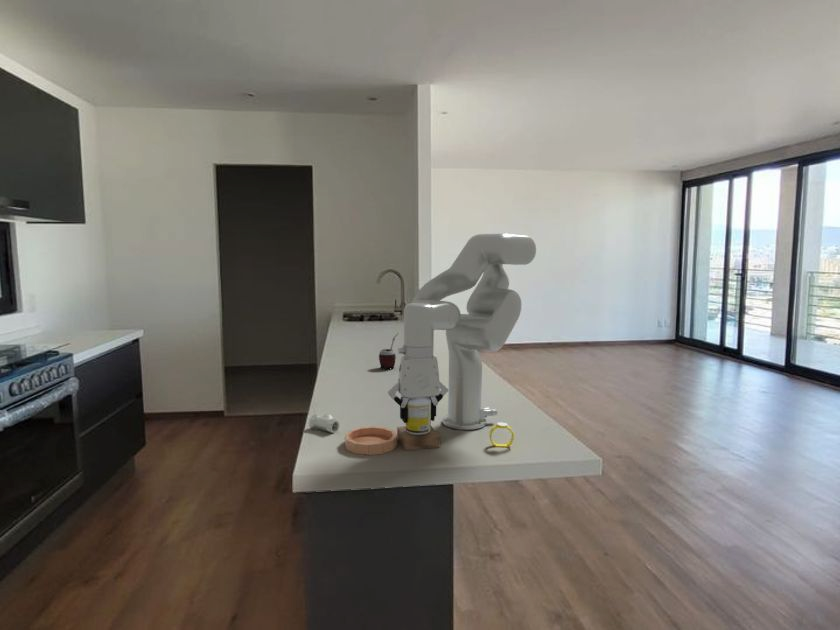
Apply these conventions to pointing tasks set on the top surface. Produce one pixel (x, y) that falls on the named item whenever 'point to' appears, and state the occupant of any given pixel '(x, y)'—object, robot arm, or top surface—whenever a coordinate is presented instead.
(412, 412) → the pill bottle
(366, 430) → the ring dish
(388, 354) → the mate gourd
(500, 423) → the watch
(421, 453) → the top surface
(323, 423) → the pipe fitting
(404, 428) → the walnut stand
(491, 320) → the robot arm
